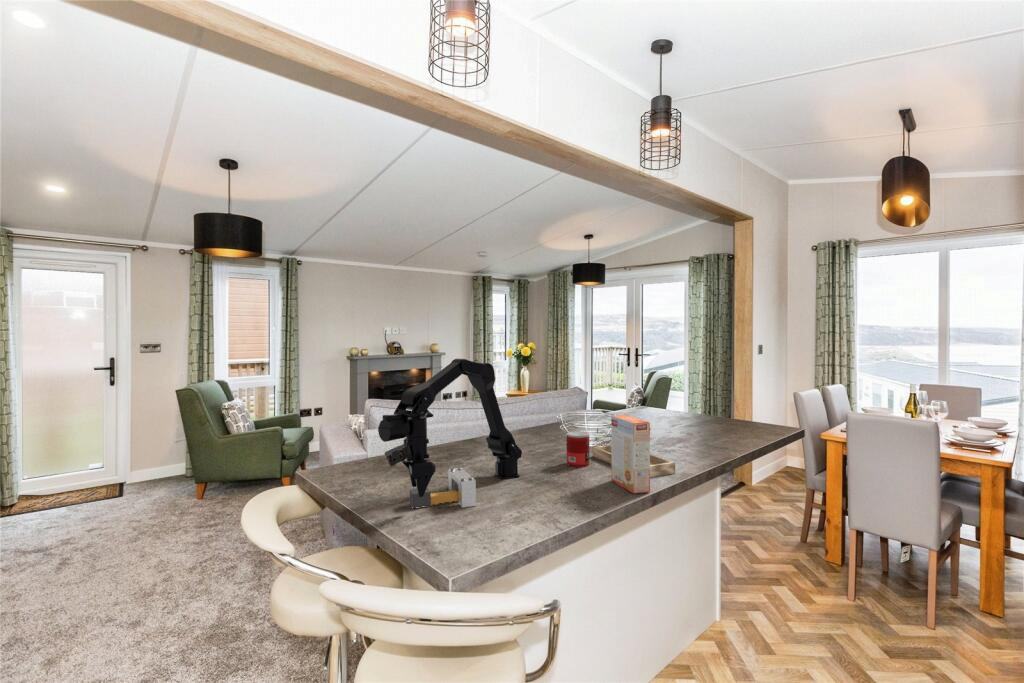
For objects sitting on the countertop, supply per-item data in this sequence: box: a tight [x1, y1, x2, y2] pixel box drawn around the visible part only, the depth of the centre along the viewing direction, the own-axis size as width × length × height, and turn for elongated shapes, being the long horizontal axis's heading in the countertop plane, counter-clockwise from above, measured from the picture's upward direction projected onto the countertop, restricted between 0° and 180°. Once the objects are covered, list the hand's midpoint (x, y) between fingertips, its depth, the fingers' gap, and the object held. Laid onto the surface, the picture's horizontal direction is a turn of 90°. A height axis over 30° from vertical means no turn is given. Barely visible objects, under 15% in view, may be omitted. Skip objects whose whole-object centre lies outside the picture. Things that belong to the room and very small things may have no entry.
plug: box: [409, 486, 458, 509], centre depth 136 cm, size 15×4×4 cm, turn 112°
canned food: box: [566, 430, 590, 468], centre depth 173 cm, size 8×8×11 cm
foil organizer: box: [592, 444, 676, 478], centre depth 172 cm, size 13×30×4 cm, turn 22°
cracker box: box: [610, 414, 651, 495], centre depth 147 cm, size 14×6×21 cm, turn 15°
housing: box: [447, 467, 477, 509], centre depth 139 cm, size 4×14×7 cm, turn 22°
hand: (417, 491), depth 134 cm, fingers open, 9 cm apart
